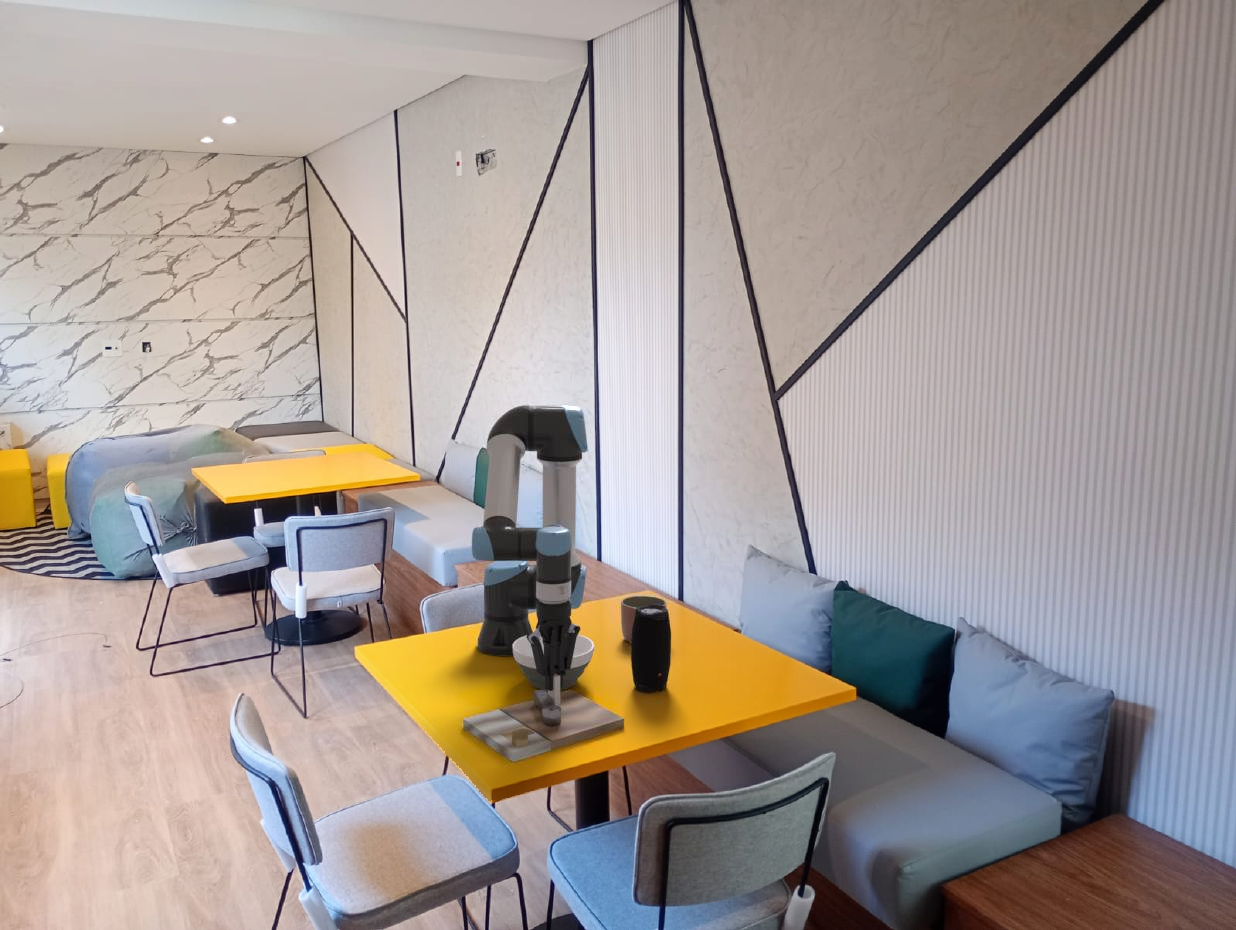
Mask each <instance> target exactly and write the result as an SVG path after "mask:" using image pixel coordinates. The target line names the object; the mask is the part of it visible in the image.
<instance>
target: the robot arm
mask: <svg viewBox="0 0 1236 930" xmlns="http://www.w3.org/2000/svg"><path fill="white" fill-rule="evenodd" d="M585 421H586V420H585V414H584V410H583V409H582V408H581V407H579V406H572V405H565V404H564V405H563V404H562V405H529V404H525V405H518V406H515V407H513V408H512V409H510V410H508V411H506V412H505V413H503V414H502V416H500V417H499V418H498V419H497V420H496V421H495V423H494V424H493V426H492V427H491V429H490V431H489V433H488V437H487V439H486V440H487V441H486V453H487V455H488V456H489V459H488V461H489V464H488V472H487V481H486V482H487V483H486V491H485V500H484V501H485V502H484V513H483V522H482V526H479V527H478V526H477V527H474V528H473V530H472V535H471V555H472V558H473V559H474V560H476V561H485V562H491V563H489V564H488V565H487V566H486V567H485V569H484V574H483V582H482V584H483V593H484V594H483V595H484V596H483V622H482V625H481V628H480V631H479V635H478V637H477V650H478V651H479V652H480V653H483V654H486V655H489V656H495V657H514V655H513V643H514V642H515V641H516V640H517V639H519V638H521V637H523V636H526V635H527V639H528V641H529V642H530V644H531V648H532V652H533V656H534V661H535V665H536V669H537V673H539V674H541V675H543V676H545V688H546V689H547V690H546V691H547V694H548V696H549V697H550V699H551V700H552V702H553V704H554V705H555V706H556V705H559V704H560V692H561V690H560V688H562V686H563V676H564V675H565V674H566V672H564V671H566V670H569V669H570V668H571V663H572V658H573V653H574V648H575V643H576V638H577V635H579V633H580V631H581V626H579V625H577V624H575V623H573V622H572V619H571V616H572V610H576V609H579V608H580V607H581V606H582V603H583V600H584V592H585V587H586V586H585V585H586V576H587V566H586V565H584V564H582V559H581V557H580V556H579V555H578V554H577V553H576V521H577V520H576V519H577V518H576V515H577V514H576V512H577V511H576V508H577V507H576V506H577V501H576V500H577V465H578V464H579V463H580V462H581V461H582V460H583V453H584V454H585V453H586V452H588V450H589V448H588V439H587V431H586V422H585ZM526 452H535V453H536V460H537V461H538V462H540V464H541V465H542V527H517V519H518V518H517V517H518V506H519V505H518V503H519V489H520V474H521V459H522V458H523V457H524V456H525V454H526ZM530 562H536V563H535V564H530ZM529 610H536V618H537V623H536V625H535V630H534V631H533V628H532V626H531V623H530V619H529ZM565 635H566V636H565ZM540 636H541V637H542V643H543V645H544V654H543V649H542V645H541V643H540V641H541V639H540Z"/></svg>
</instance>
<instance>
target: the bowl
mask: <svg viewBox="0 0 1236 930" xmlns="http://www.w3.org/2000/svg"><path fill="white" fill-rule="evenodd" d="M565 636H566V635H565ZM540 639H541V641H540V643H541V645H542V649H543V654H544V645H543V643H542V637H541V636H540ZM594 651H595V643H594V642H593V640H592V639H590V638H589V637H587V636H584V635H581V634H578V635H577V638H576V643H575V648H574V653H573V658H572V663H571V668H570V669H569V670H566V671H564V672H566V674H565V675H564V676H563V686H562V688H560V691H563V690H564V691H565V690H568V689H570V688H572V687H574V686H575V685H576V683H577V682H578V678H580V677H581V676H582V675H583V674H584V672H585V670H586V668H587V667H588V666H589V664H590V662H591V660H592V659H593V656H594V653H595V652H594ZM513 655H514V656H513V658H514V660H515V662H516V663H517V665H518V667H519V668H520V669H521V672H522V673H523V675H524V676H525V677H526V678H527V679H528V681H529V683H530V685H531V686H532V687H534V688H536V689H538V690H545V691H548V690H547V689H546V688H545V676H543V675H541V674H539V673H537V669H536V665H535V661H534V656H533V652H532V648H531V644H530V642H529V641H528V639H527V635H526V636H523V637H521V638H519V639H517V640H516V641H515V642H514V643H513Z"/></svg>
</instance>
